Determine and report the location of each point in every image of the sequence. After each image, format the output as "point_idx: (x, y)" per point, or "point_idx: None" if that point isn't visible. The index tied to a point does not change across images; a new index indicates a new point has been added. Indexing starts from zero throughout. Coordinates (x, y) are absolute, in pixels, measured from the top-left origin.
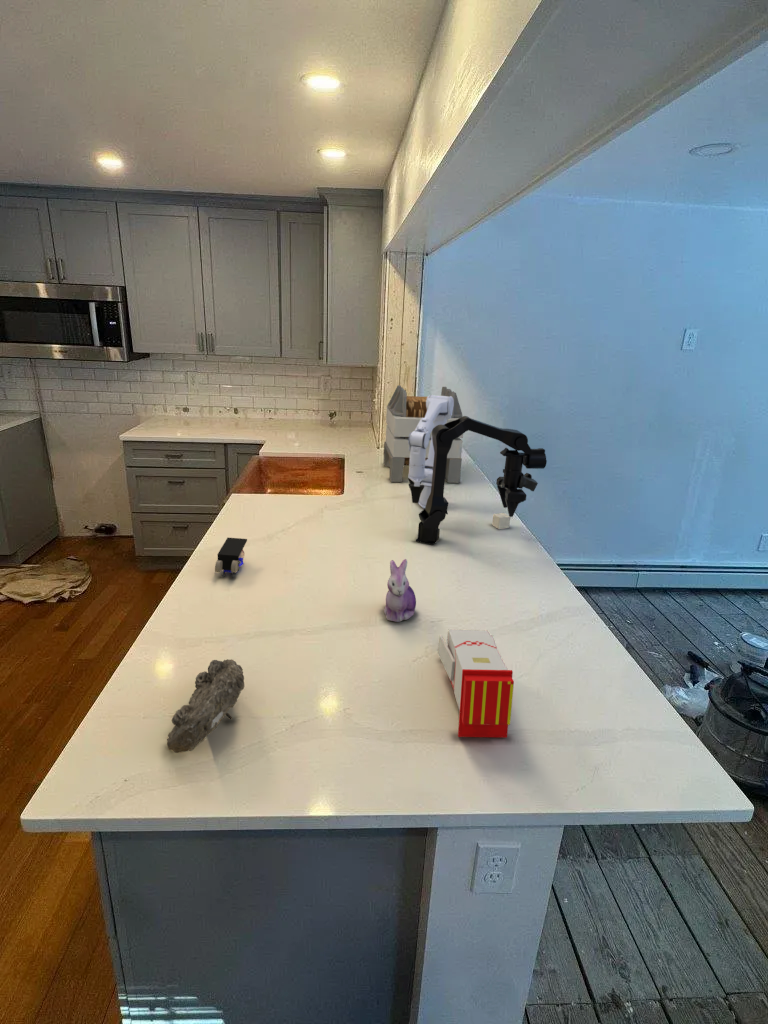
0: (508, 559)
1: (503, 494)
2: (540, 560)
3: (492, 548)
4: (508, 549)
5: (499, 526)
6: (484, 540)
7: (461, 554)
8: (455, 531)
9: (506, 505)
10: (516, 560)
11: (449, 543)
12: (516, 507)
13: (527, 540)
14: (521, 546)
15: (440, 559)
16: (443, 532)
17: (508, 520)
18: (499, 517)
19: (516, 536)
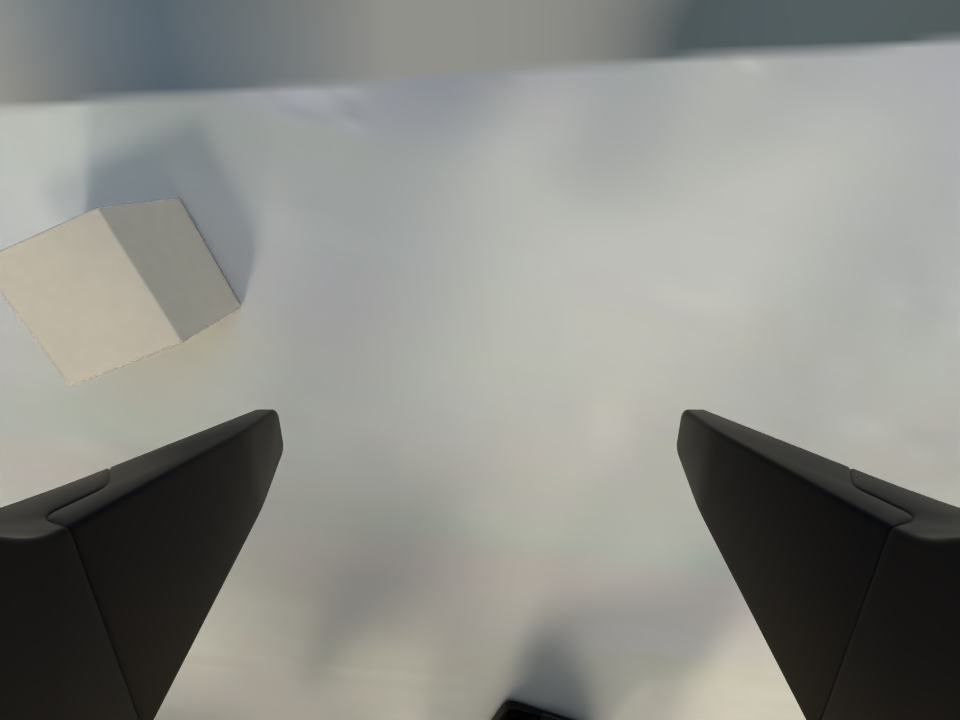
0: (869, 358)
1: (140, 656)
2: (949, 83)
3: (658, 430)
4: (684, 317)
5: (226, 309)
6: (506, 458)
7: (740, 618)
8: (359, 607)
9: (265, 434)
10: (899, 302)
11: (569, 656)
12: (886, 488)
13: (477, 81)
14: (625, 186)
15: (793, 712)
16: (391, 667)
17: (139, 225)
18: (167, 344)
19: (386, 174)
